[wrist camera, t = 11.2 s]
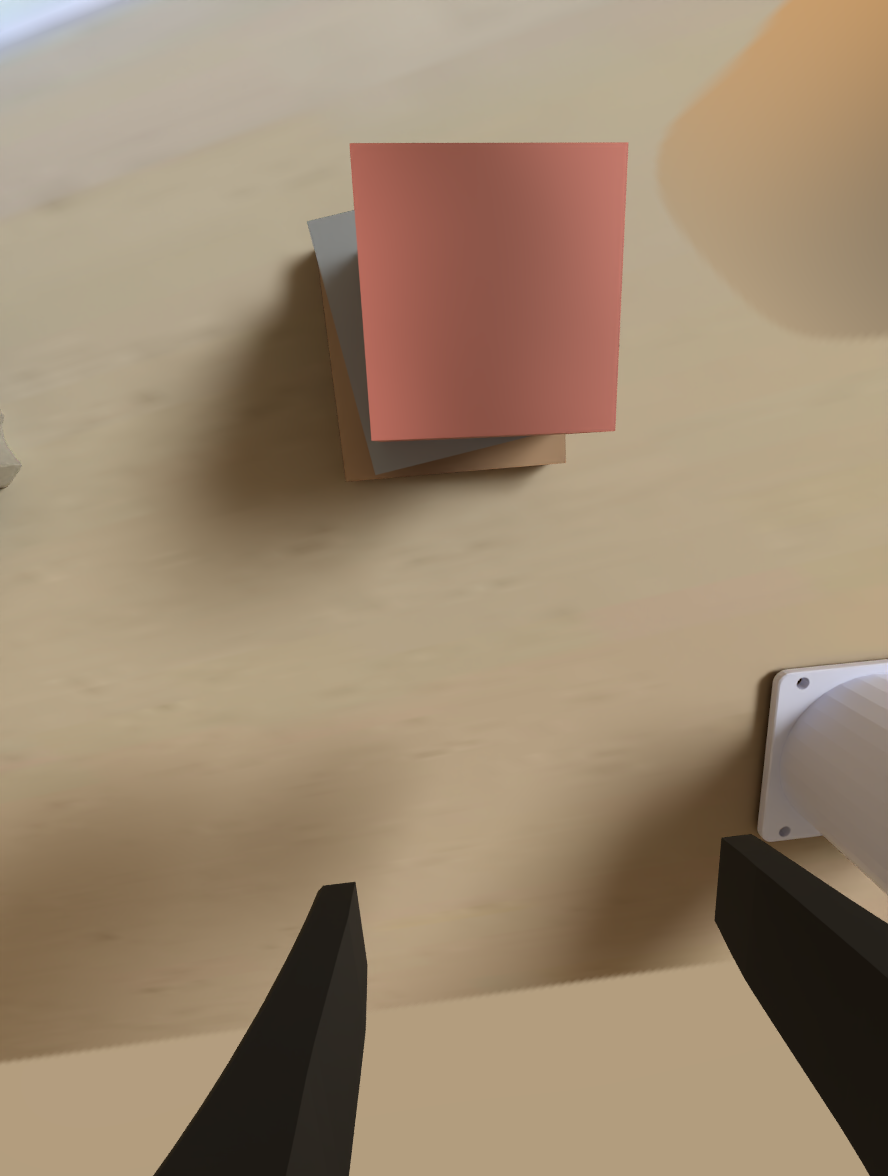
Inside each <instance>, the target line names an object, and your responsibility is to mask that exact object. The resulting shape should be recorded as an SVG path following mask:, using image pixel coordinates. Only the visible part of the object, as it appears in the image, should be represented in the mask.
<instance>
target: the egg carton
mask: <svg viewBox="0 0 888 1176" xmlns="http://www.w3.org/2000/svg"><path fill="white" fill-rule="evenodd" d="M3 418H4V415H3V413H2V412H1V410H0V488H2V487H7V486H8V485H9V484H10V483H11V482H12V480H13V479H14V477H15V476H16V474H17V473H18V472H19V470H20V468H21V466H22V465H21V462H20V461H19V460H18V459H17V458H16V457H15V455H14V454H13V453H12V451H11V450H10V449H9V447H8V445H7V443H6V441H5V439H4V435H3V429H2V424H3Z"/></svg>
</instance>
